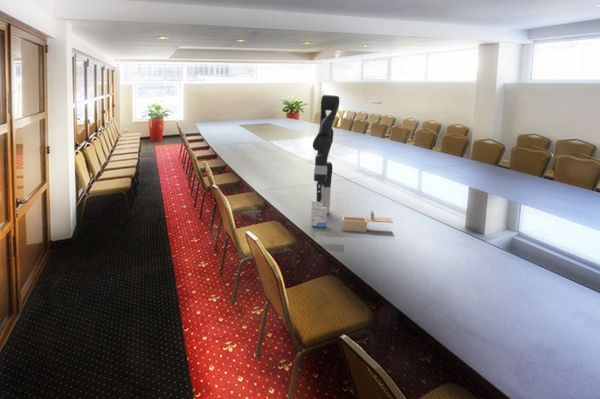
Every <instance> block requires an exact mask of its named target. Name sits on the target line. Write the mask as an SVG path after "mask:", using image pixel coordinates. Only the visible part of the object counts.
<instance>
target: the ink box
mask: <svg viewBox="0 0 600 399" xmlns="http://www.w3.org/2000/svg"><path fill="white" fill-rule="evenodd" d="M316 204H319V205H316ZM310 214H311V215H310V225H311V226H312V227H317V228H325V227H327V217H328V213H327V207H323V203H319V202H316V201H313V200H312V201H311V211H310Z"/></svg>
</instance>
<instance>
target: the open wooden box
mask: <svg viewBox="0 0 600 399" xmlns="http://www.w3.org/2000/svg"><path fill="white" fill-rule="evenodd" d="M341 218H342V223H341V231H342V232H343V231H344V232H345V231H346V232H348V231H349V232H359V233H366V232H367V231H368V229H367V228H368V221H367V219H366V217H359V216H358V217H357V216H355V217H354V216H342V217H341Z"/></svg>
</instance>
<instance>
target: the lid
mask: <svg viewBox="0 0 600 399" xmlns="http://www.w3.org/2000/svg"><path fill="white" fill-rule="evenodd" d="M365 218H366V219H367V222H371V223H372V222H374V223H390V224H392V223H394V221H393V219H392V218H391V217H381V216H380V217H379V216H375V212H374V211H373V210H370V216H365Z"/></svg>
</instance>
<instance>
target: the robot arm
mask: <svg viewBox="0 0 600 399" xmlns="http://www.w3.org/2000/svg"><path fill="white" fill-rule="evenodd" d="M339 106H340V97H339V96H338V95H333V94H332V95H331V94H322V95H321V100H320V119H319V120H320V121H319V129H318V133H317V134H316V136H315V138H314V139H313V142H312V148H313V150H314V151H317V153H316V156H315V161H314V171H313V181H314V182H316V188H315V190H316V193H315V195H316V197H315V202H319V203H323V207H327V214H329V213H330V211H331V209H330V208H331V192H332V191H331V189H332V178H333V164H332V162H331V161H328V158H329V154H330V150H331V147H332V144H333V141H334V130H333V124H334V121H335V118H336V116H337V113H338V110H339ZM327 111H330V112H329V114H328V115H327ZM315 205H319V204H315Z"/></svg>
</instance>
